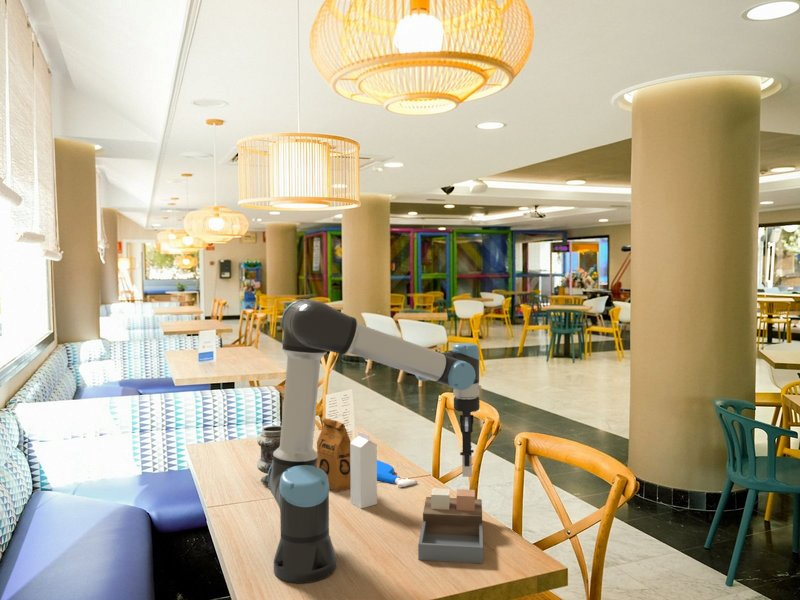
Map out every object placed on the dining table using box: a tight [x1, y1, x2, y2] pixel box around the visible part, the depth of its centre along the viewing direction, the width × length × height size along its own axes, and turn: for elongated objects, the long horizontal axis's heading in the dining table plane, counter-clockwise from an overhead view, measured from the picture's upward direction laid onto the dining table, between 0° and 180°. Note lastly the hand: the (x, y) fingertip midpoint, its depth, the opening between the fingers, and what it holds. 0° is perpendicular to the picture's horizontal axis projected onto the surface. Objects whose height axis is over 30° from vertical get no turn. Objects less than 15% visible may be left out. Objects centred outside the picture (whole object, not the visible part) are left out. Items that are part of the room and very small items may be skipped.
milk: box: [350, 431, 378, 509], centre depth 186 cm, size 6×6×22 cm
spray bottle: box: [377, 459, 418, 488], centre depth 211 cm, size 3×11×24 cm
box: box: [417, 520, 484, 564], centre depth 157 cm, size 14×16×4 cm
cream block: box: [430, 487, 451, 510], centre depth 170 cm, size 5×5×4 cm
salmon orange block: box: [456, 488, 476, 511], centre depth 169 cm, size 5×5×4 cm
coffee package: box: [316, 417, 352, 492], centre depth 202 cm, size 10×12×22 cm
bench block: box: [422, 496, 483, 536], centre depth 170 cm, size 12×16×6 cm
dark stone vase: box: [256, 425, 282, 485], centre depth 207 cm, size 12×12×18 cm
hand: (467, 475), depth 178 cm, fingers closed
